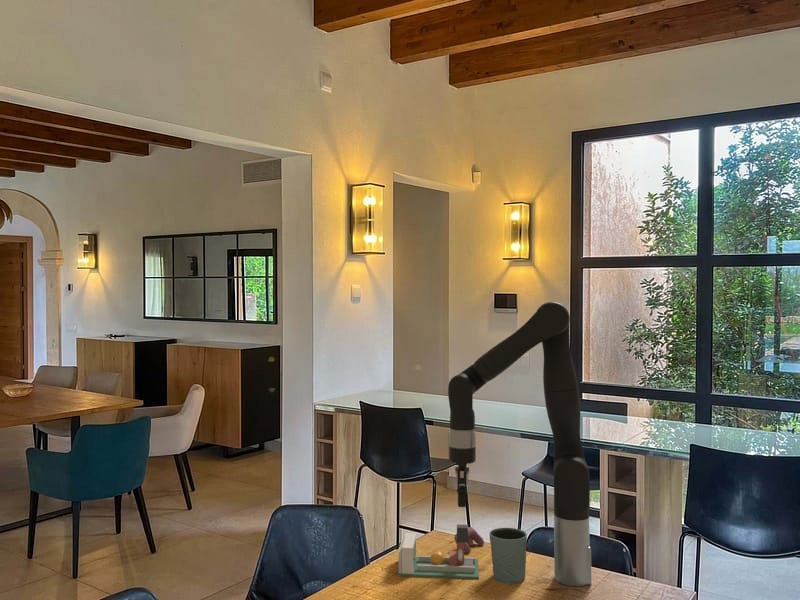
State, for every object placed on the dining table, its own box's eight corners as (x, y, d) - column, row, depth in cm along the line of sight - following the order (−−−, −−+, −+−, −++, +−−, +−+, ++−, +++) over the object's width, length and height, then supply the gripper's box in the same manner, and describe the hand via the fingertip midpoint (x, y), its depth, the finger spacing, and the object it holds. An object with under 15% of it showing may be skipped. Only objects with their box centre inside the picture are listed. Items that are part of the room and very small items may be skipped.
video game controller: (474, 547, 206) (465, 525, 208) (486, 543, 204) (477, 521, 206) (458, 557, 198) (449, 534, 200) (470, 553, 196) (461, 530, 198)
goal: (416, 557, 192) (416, 533, 192) (412, 573, 180) (412, 548, 180) (403, 556, 193) (403, 532, 193) (398, 573, 180) (398, 547, 180)
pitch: (478, 561, 191) (478, 554, 191) (478, 579, 178) (478, 571, 178) (402, 558, 193) (402, 551, 193) (398, 575, 180) (398, 568, 180)
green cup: (527, 586, 173) (526, 540, 173) (488, 583, 175) (488, 538, 175) (527, 571, 183) (527, 528, 183) (490, 569, 185) (490, 526, 185)
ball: (444, 563, 187) (444, 549, 187) (444, 569, 183) (444, 554, 183) (430, 563, 188) (430, 549, 188) (430, 568, 184) (429, 554, 184)
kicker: (472, 557, 191) (472, 518, 192) (473, 576, 177) (473, 534, 178) (450, 556, 192) (450, 518, 192) (449, 575, 178) (449, 534, 178)
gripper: (475, 450, 178) (475, 510, 178) (475, 440, 192) (475, 495, 192) (448, 449, 179) (447, 509, 178) (449, 439, 193) (449, 495, 193)
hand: (462, 502), depth 185 cm, fingers open, 8 cm apart
